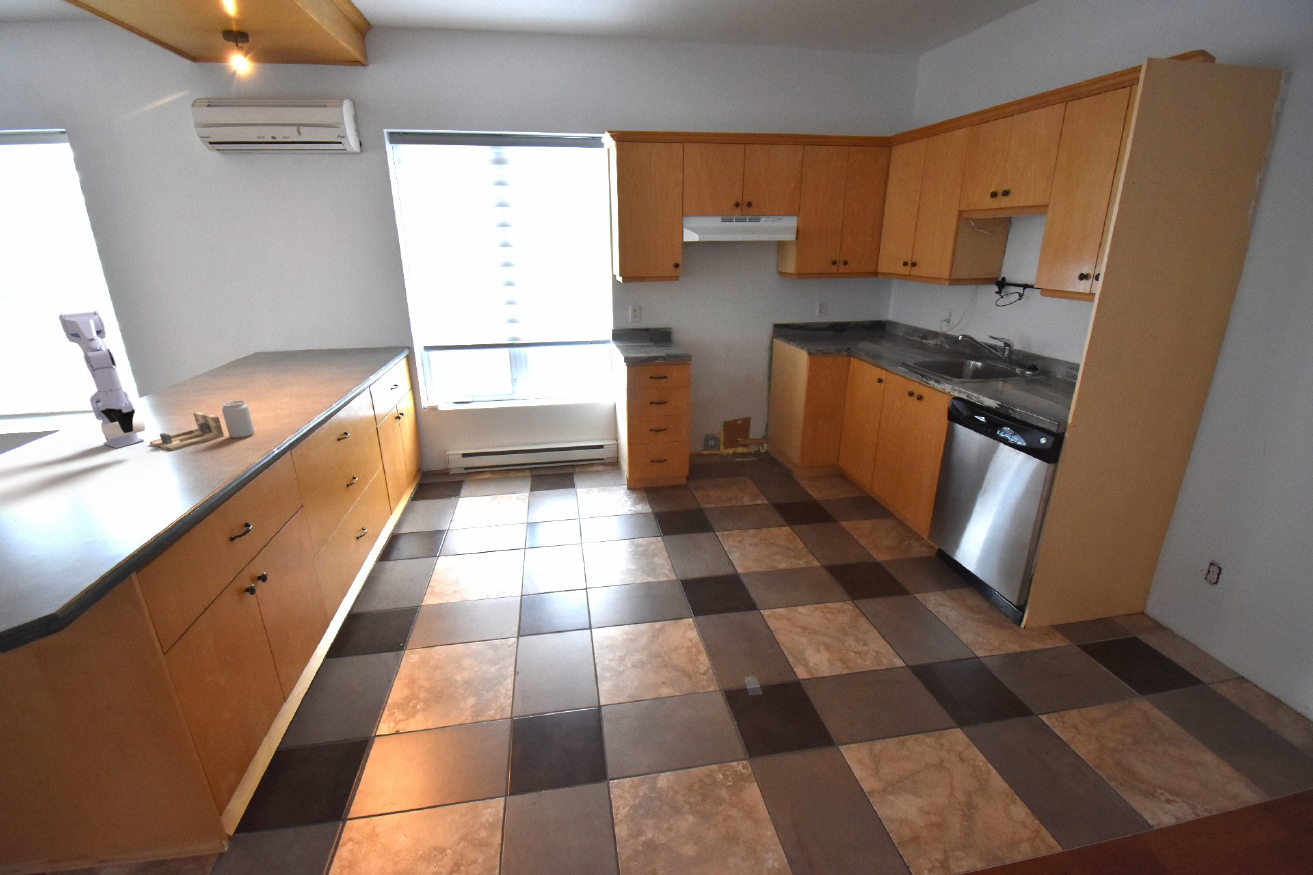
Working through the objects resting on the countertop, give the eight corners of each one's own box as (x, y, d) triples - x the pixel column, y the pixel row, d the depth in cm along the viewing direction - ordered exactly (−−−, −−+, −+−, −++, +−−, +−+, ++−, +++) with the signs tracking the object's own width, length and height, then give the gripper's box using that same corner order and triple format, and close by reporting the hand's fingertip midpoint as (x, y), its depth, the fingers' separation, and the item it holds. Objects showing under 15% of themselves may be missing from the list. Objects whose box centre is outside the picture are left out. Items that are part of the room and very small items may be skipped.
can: (242, 439, 204) (233, 406, 199) (224, 438, 205) (214, 405, 201) (260, 432, 210) (251, 400, 206) (242, 431, 212) (233, 399, 208)
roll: (105, 438, 186) (99, 424, 185) (139, 429, 194) (134, 415, 192) (112, 440, 184) (106, 426, 183) (146, 431, 192) (141, 417, 190)
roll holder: (150, 444, 201) (143, 425, 199) (202, 430, 214) (196, 411, 212) (171, 450, 195) (165, 430, 192) (224, 435, 208) (218, 416, 206)
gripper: (83, 390, 184) (98, 431, 189) (104, 395, 177) (120, 438, 182) (111, 384, 190) (125, 425, 194) (133, 389, 183) (147, 431, 188)
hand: (124, 430), depth 189 cm, fingers closed on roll, 5 cm apart
